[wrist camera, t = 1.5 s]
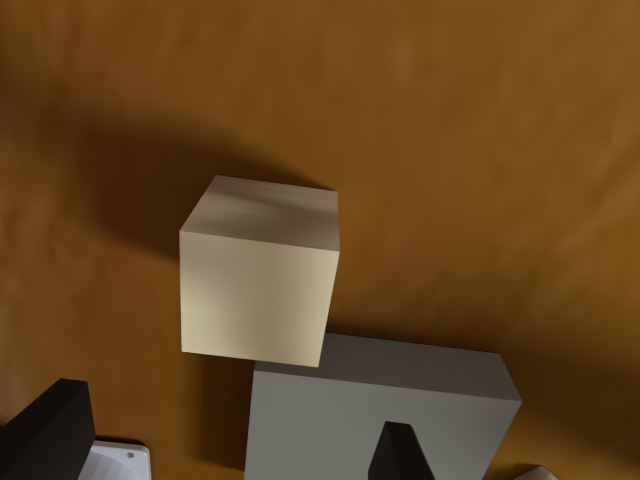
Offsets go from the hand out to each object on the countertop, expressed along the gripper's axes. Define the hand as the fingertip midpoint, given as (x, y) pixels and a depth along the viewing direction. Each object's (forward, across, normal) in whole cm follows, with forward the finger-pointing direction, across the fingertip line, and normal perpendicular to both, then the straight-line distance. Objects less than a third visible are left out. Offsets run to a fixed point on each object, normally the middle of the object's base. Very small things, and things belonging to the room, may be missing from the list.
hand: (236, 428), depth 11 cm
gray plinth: (+9, -6, +11) cm, 16 cm away
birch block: (+10, 0, 0) cm, 10 cm away
